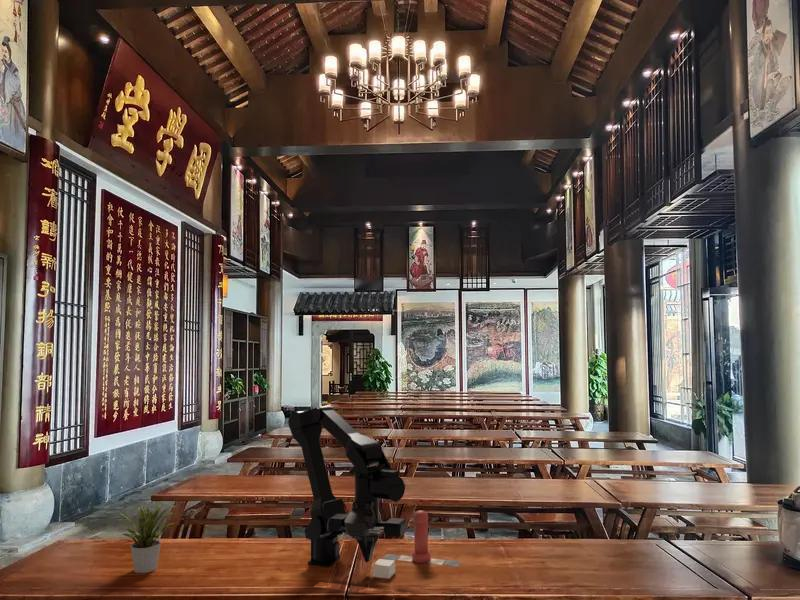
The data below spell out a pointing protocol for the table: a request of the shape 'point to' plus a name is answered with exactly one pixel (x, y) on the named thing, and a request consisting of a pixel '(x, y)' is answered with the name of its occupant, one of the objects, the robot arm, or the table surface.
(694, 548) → the table surface
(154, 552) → the house plant
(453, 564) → the track board
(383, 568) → the white cube
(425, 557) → the pawn
